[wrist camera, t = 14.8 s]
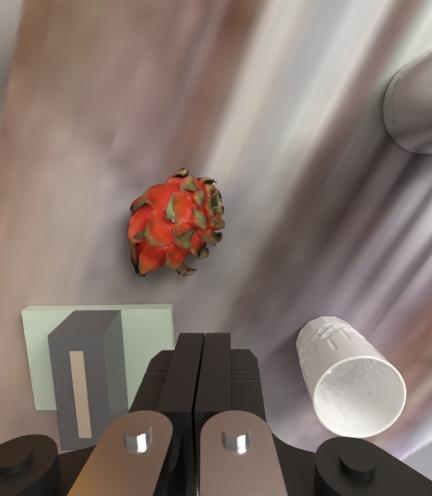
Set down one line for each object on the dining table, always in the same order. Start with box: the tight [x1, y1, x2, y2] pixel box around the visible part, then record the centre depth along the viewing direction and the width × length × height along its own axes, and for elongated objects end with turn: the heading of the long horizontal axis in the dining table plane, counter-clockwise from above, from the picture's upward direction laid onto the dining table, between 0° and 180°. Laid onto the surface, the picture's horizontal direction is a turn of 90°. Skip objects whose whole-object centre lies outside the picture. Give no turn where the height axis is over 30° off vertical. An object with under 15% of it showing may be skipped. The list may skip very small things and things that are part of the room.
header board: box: [21, 304, 175, 410], centre depth 38 cm, size 16×12×4 cm
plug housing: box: [47, 310, 129, 450], centre depth 36 cm, size 5×12×6 cm, turn 1°
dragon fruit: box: [127, 168, 225, 280], centre depth 34 cm, size 8×8×12 cm
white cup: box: [296, 316, 406, 438], centre depth 35 cm, size 8×8×10 cm
